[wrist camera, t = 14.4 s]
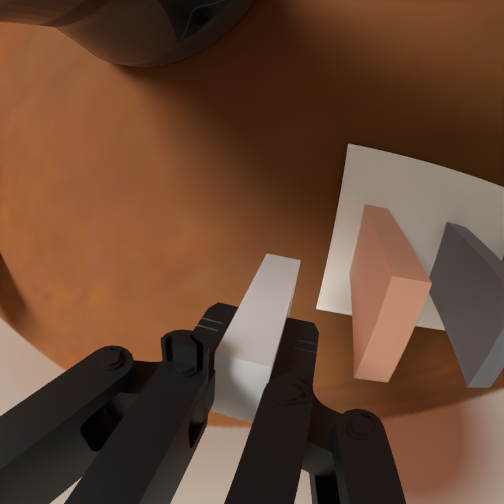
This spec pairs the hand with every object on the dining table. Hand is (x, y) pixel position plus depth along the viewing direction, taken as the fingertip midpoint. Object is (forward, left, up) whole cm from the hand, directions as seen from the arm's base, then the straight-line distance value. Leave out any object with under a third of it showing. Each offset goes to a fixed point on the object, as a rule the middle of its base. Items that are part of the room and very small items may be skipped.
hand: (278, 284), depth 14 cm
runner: (+17, 0, -8) cm, 19 cm away
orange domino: (+5, 0, -8) cm, 9 cm away
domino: (+11, 0, -8) cm, 13 cm away
